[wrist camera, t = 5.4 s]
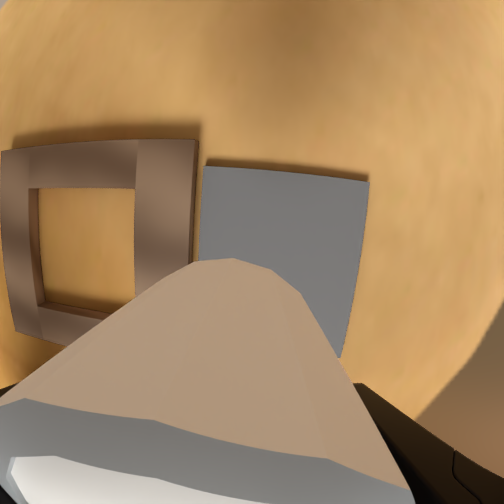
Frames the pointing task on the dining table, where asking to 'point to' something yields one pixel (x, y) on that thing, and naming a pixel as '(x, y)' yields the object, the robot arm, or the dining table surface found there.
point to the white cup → (197, 405)
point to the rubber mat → (290, 233)
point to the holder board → (95, 176)
